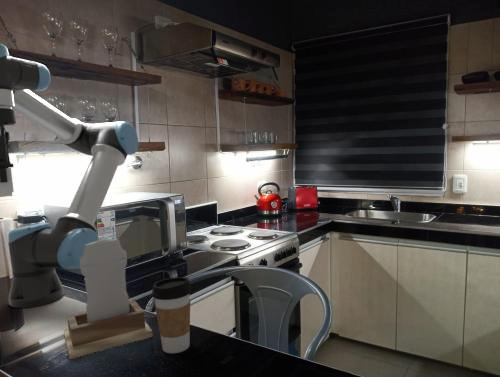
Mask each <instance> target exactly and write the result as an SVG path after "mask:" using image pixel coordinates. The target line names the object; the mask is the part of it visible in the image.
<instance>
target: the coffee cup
mask: <svg viewBox="0 0 500 377" xmlns="http://www.w3.org/2000/svg"><path fill="white" fill-rule="evenodd" d="M191 293H192V287H191V284H190V279H189V278H188V277H187V276H186V277H185V276H183V277H182V276H181V277H180V276H179V277H170V278H164V279H160V280H158V281H155V282H154V283H153V284H152V291H151V294H152V295H151V296H152V297H153V298H154V302H155V303H154V309H155V314H156V319H157V320H156V321H157V325H158V331H159V335H160V341H161V347H162V350H163V352H165V353H166V354H178V353H182V352H184V351H186V350H188V349H189V347H190V344H191V343H190V340H191V339H190V337H191V336H190V333H191V332H190V330H191V327H190V326H191V299H190V296H191V295H190V294H191Z"/></svg>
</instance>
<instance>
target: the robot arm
mask: <svg viewBox="0 0 500 377" xmlns="http://www.w3.org/2000/svg"><path fill="white" fill-rule="evenodd" d="M49 70H50V69H48V68H47V66H46V65H44V64H42V63H40V62H36V61H34V60H28V59H23V58H19V57H13V56H11V55H10V53H9V50H8V47H7V46H6V45H5V44H3V43H0V198H5V197H13V193H15V192H14V185H13V184H14V183H13V174H12V168H14V163H11V161H10V160H11V159H10V153H9V148H10V138H11V137H10V132H9V131H7V130H6V128H5V126H14V125H15V124H16V123H17V121H16V112H17V113H18V114H20V115H22V116H23V117H25V118H26V119H28V120H30V121H31V122H33V123H34V124H36V125H38V126H40V127H41V128H43V129H44V130H45V131H48V132H49V133H51V134H53V135H54V136H56V137H57V138H58V140H59V142H60V143H61V144H64V145H65V146H67V147H69V148H70V149H72V150H74V151H77V152H78V153H81V154H84V155H86V156H91V159H90V162H89V163H88V166H87V168H86V171H85V173H84V175H83V178H82V179H81V181H80V183H79V186H78V188H77V189H76V190H77V191H76V192H75V195H74V197H73V199H72V201H71V204H70V206H69V208H68V210H67V212H66V214H65V215H63V216H62V215H61V216H60V217H59V218H57V222H56V223H55V225H54V227H53V228H52V225H51V223H49V222H42V223H36V224H32V225H31V224H30V225H27V226H26V225H25V226H23V227H19V228H14V229H12V230H10V231H9V232H8V243H7V245H8V250H9V258H10V266H11V272H12V281H11V286H10V290H9V293H8V305H9V306H10V307H12V308H17V309H18V308H20V309H21V308H22V309H26V308H33V307H38V306H43V305H46V304H50V303H53V302H54V301H57V300H59V299H61V298H62V297H63V296H64V291H65V290H64V286H63V284H62V282H61V280H60V278H59V276H58V273H57V272H56V269H57V268H58V269H64V270H65V269H66V270H67V269H68V270H73V269H74V270H75V269H80V259H81V258H82V257H83V255H84V249H85V244H89V243H93V242H95V241H98V240H100V239H99V237H98V236H99V235H98V234H97V231H98V230H97V228H96V226H95V222H96V220H97V217H98V216H99V213H100V210H101V208H102V206H103V204H104V200H105V198H106V196H107V194H108V191H109V188H110V186H111V183H112V182H113V180H114V179H113V178H114V176H115V174H116V171H117V169H118V167H119V166H120V167H121V166H122V165H124V163H125V161H126V160H127V157H128V155H129V156H130V155H131V156H132V155H134V154H136V152H137V151H138V149H139V138H138V133H137V131H136V130H135V128H134V126H133V125H132V123H130V122H128V121H123V120H122V121H120V120H117V121H112V122H100V123H85V122H82V121H80V120H79V119H77V118H71V117H69V116H68V115H67V114H65V113H63V112H62V111H61V110H59V109H57V108H56V107H55V106H53V105H52V104H50V103H49V102H47V101H46V100H45V99H43V98H41V97H40V96H38V95H37V94H35V93H34V92H36V91H37V92H38V91H40V92H41V91H45V90H46V89H48V87H49V86H50V83H51V73H50V71H49Z"/></svg>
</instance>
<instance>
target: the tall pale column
mask: <svg viewBox="0 0 500 377" xmlns="http://www.w3.org/2000/svg"><path fill="white" fill-rule="evenodd" d="M127 265H128V258H127V251H126V250H125V249H123V248H122V245H121V242H120V239H118V238H116V239H108V238H107V239H106V238H105V239H102V238H101V239H99V240H98V241H95V242H93V243H89V244H85V249H84V255H83V257H82V258H81V259H80V268H79V269H80V272H81V274H82V275H83V276H84V278H83V279H84V284H85V290H86V291H85V292H86V298H87V301H86V306H85V308H86V309H85V310H86V311H85V312H87V321H88V323H90V322H94V321H98V320H102V319H106V318H111V317H115V316H119V315H123V314H127V313H130V308H129V302H130V299H129V298H130V297H129V294H128V292H127V283H126V280H127V279H126V269H125V268H126V266H127Z"/></svg>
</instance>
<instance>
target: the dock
mask: <svg viewBox="0 0 500 377" xmlns="http://www.w3.org/2000/svg"><path fill="white" fill-rule="evenodd" d="M129 308H130V313H127V314H123V315H119V316H115V317H111V318H106V319H102V320H98V321H94V322H90V323H88V321H87V311H83V312H78V313H75V314H71V315H67V324H68V327H67V328H64V329H63V336H65V337H64V339H65V340H64V341H65V345H66V349H67V353H68V357H69V360H73V359H74V360H75V359H78V358H80V356H81V357H85V356H88V355H87V354H89V355H91V354H90V353H92V354H94V353H93V352H96V353H98V352H97V351H100V352H102V351H101V350H103V351H105V350H104V349H107V348H110V349H112V348H111V347H114V348H116V347H115V346H118V347H120V346H119V345H121V346H124V345H123V344H125V345H127V344H126V343H129V344H131V343H130V342H132V343H135V342H134V341H136V342H139V340H140V341H143V340H147V339H150V337H151V338H154V335H153V334H154V333H153V330H152V328H151V327H150V326H149V324H148V323H147V322H146V320H145V311H144V310H143V309H142V308H141V306H140V305H139V304H138V303H137V301H136V300H132V301H129ZM107 350H108V349H107ZM84 355H85V356H84ZM77 357H78V358H77Z"/></svg>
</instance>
